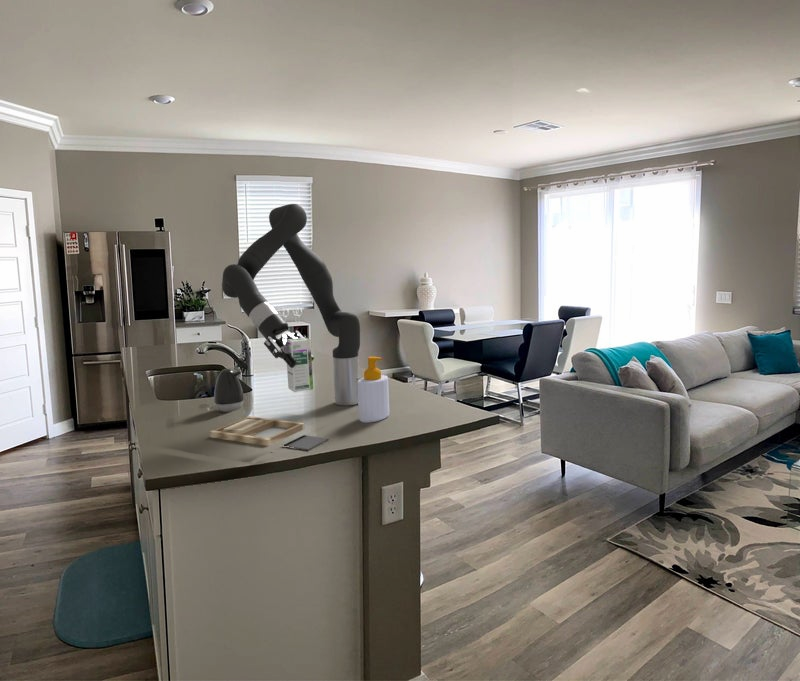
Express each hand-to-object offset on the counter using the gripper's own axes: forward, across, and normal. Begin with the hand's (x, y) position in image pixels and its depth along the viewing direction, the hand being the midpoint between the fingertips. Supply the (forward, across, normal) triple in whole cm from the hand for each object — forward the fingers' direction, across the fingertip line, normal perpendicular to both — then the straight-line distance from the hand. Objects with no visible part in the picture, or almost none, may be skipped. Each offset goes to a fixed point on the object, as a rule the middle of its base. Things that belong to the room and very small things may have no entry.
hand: (303, 363), depth 163 cm
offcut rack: (+4, 0, +30) cm, 30 cm away
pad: (+16, 0, +18) cm, 24 cm away
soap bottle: (+20, +30, +13) cm, 39 cm away
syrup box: (+4, 0, +6) cm, 8 cm away
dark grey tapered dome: (-17, +21, +52) cm, 58 cm away
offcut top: (-1, 0, +33) cm, 33 cm away
